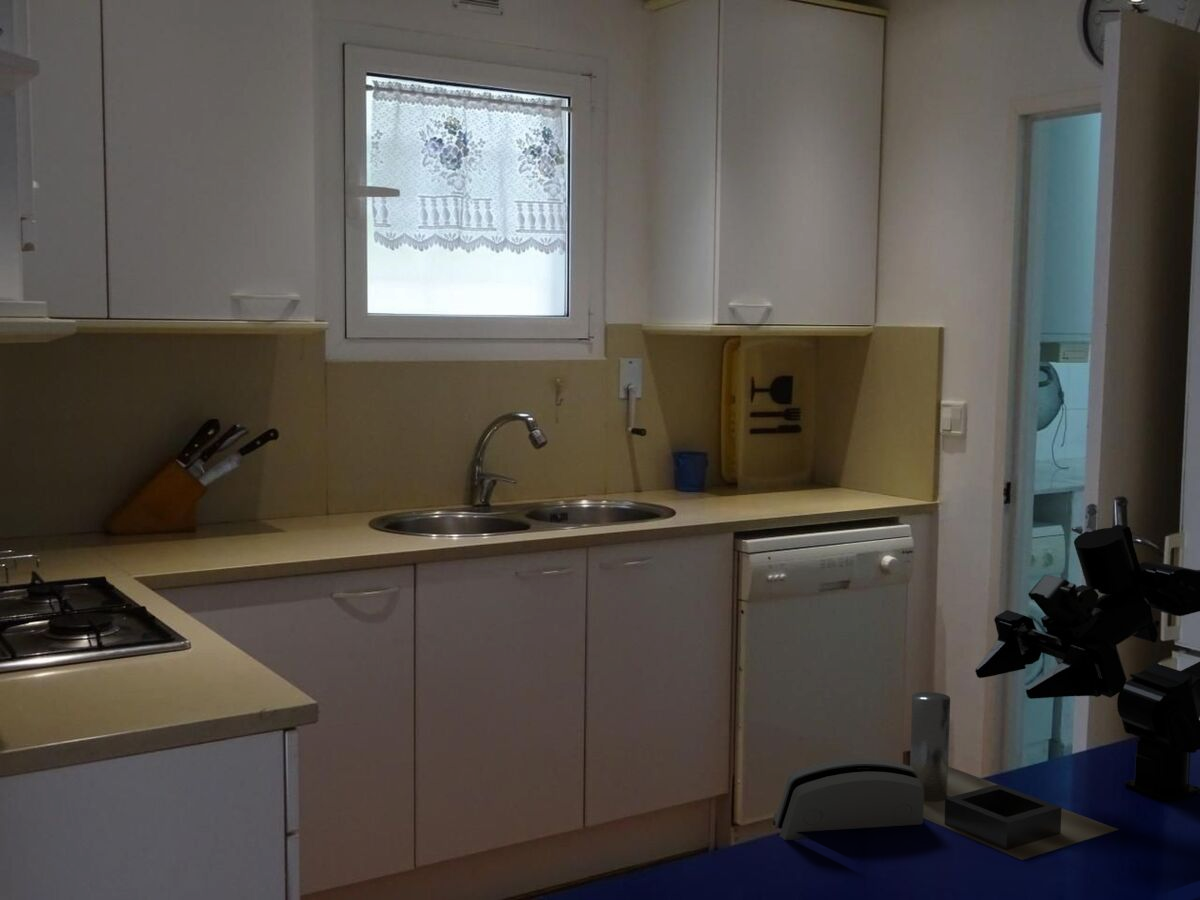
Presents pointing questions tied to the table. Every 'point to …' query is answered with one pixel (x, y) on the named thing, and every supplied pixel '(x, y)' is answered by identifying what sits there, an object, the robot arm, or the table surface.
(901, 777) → the grey arched block
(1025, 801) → the knuckle socket
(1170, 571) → the robot arm
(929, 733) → the pin
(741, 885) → the table surface
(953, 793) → the board
